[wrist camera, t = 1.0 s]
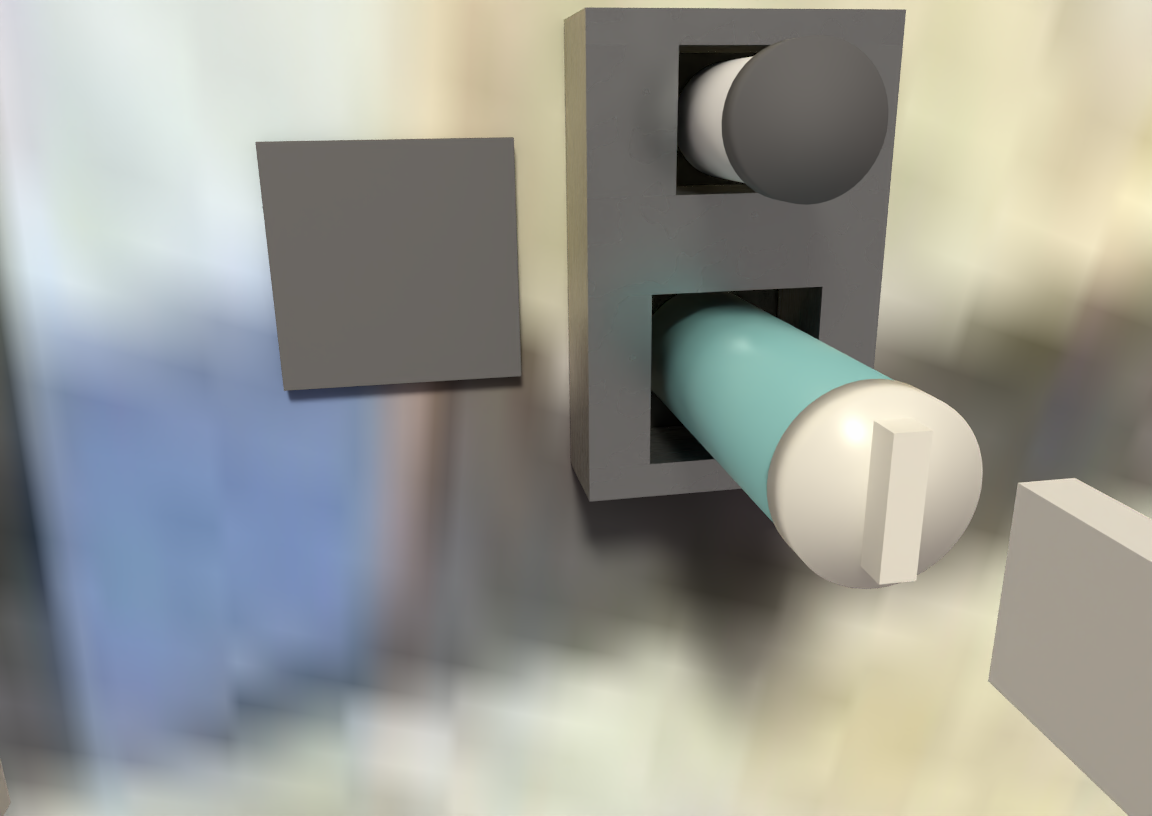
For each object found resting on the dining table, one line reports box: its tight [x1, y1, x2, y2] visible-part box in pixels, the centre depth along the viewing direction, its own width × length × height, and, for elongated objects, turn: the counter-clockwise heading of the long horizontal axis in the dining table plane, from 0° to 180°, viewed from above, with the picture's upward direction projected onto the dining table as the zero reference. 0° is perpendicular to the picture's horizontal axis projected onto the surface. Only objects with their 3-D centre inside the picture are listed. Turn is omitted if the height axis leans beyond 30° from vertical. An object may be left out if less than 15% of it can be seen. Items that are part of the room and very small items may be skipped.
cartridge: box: [651, 291, 983, 589], centre depth 30 cm, size 5×5×16 cm
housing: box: [564, 8, 906, 501], centre depth 34 cm, size 17×11×4 cm, turn 1°
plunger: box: [677, 35, 889, 205], centre depth 29 cm, size 5×5×7 cm
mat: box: [256, 137, 521, 391], centre depth 34 cm, size 9×9×1 cm
